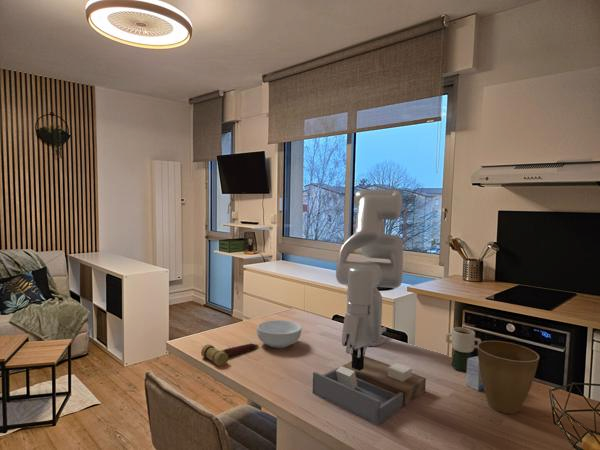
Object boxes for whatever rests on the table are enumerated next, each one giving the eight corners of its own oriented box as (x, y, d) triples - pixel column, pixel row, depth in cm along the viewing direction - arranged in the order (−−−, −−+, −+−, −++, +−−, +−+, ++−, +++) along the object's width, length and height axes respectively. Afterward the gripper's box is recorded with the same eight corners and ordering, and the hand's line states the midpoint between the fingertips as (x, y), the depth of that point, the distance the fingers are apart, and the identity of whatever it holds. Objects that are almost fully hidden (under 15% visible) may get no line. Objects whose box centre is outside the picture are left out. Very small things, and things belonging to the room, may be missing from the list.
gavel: (250, 335, 149) (266, 343, 141) (249, 347, 149) (266, 355, 141) (201, 345, 134) (217, 354, 127) (200, 358, 134) (216, 368, 127)
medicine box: (478, 391, 115) (479, 363, 114) (465, 385, 119) (466, 357, 118) (495, 386, 118) (497, 358, 118) (482, 380, 122) (484, 353, 122)
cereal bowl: (309, 342, 151) (309, 324, 150) (284, 356, 137) (285, 337, 136) (273, 333, 160) (274, 316, 159) (247, 346, 146) (247, 327, 145)
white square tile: (341, 365, 115) (335, 370, 113) (354, 371, 112) (349, 376, 110) (343, 379, 116) (338, 384, 115) (357, 385, 113) (352, 391, 111)
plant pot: (536, 428, 97) (540, 366, 95) (471, 411, 104) (474, 353, 103) (534, 402, 110) (538, 346, 108) (476, 388, 117) (479, 336, 116)
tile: (396, 370, 118) (396, 362, 118) (411, 376, 115) (411, 368, 115) (387, 375, 115) (388, 367, 115) (402, 381, 111) (403, 373, 111)
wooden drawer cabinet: (363, 367, 130) (363, 355, 129) (425, 391, 114) (425, 378, 114) (340, 378, 121) (341, 366, 121) (404, 406, 106) (405, 391, 105)
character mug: (480, 368, 131) (482, 330, 130) (478, 376, 125) (480, 336, 124) (446, 361, 136) (448, 324, 136) (442, 368, 130) (444, 330, 129)
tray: (338, 379, 120) (339, 360, 120) (402, 407, 105) (403, 386, 105) (312, 392, 112) (313, 372, 111) (377, 425, 96) (378, 401, 96)
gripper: (363, 301, 123) (361, 358, 124) (333, 310, 113) (331, 372, 114) (384, 306, 118) (381, 365, 119) (354, 316, 107) (352, 380, 109)
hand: (357, 368), depth 116 cm, fingers closed
